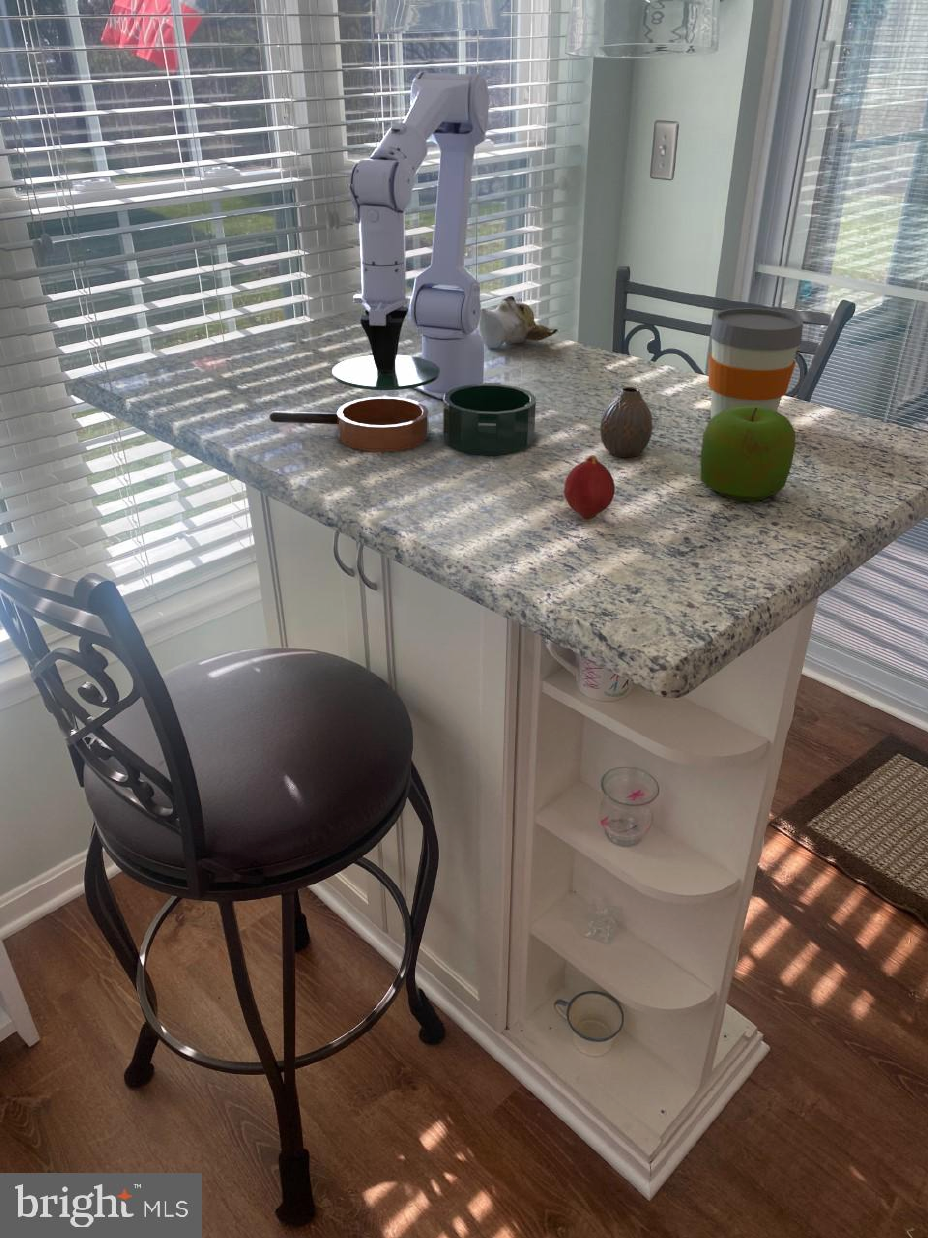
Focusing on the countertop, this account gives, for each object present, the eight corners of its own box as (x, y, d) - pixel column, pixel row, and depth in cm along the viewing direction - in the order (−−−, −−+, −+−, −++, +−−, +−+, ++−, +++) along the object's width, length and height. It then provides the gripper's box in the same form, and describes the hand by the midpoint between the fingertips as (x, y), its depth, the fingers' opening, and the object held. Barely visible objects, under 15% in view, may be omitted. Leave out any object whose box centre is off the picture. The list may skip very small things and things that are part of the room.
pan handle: (344, 422, 139) (344, 412, 138) (343, 425, 138) (342, 415, 137) (271, 419, 139) (270, 409, 139) (268, 423, 138) (267, 413, 137)
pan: (432, 421, 144) (432, 398, 142) (423, 453, 133) (423, 428, 131) (346, 418, 145) (345, 395, 143) (331, 450, 134) (329, 425, 132)
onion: (558, 508, 118) (562, 445, 114) (605, 507, 119) (611, 444, 115) (567, 529, 113) (571, 464, 109) (616, 528, 114) (622, 463, 110)
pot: (533, 418, 146) (535, 379, 142) (533, 464, 130) (535, 421, 127) (448, 415, 146) (449, 376, 143) (438, 461, 131) (438, 418, 128)
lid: (443, 363, 140) (444, 330, 138) (435, 396, 128) (435, 360, 125) (342, 360, 141) (340, 327, 139) (323, 392, 129) (321, 357, 126)
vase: (617, 465, 130) (624, 400, 126) (588, 447, 136) (593, 385, 131) (659, 456, 133) (667, 393, 129) (629, 439, 138) (636, 378, 134)
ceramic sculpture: (462, 293, 175) (523, 286, 184) (459, 342, 179) (519, 333, 188) (502, 305, 168) (564, 298, 177) (498, 356, 172) (558, 346, 181)
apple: (712, 467, 130) (724, 387, 124) (794, 485, 125) (811, 402, 120) (683, 497, 122) (695, 412, 116) (770, 516, 117) (787, 429, 111)
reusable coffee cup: (804, 427, 144) (824, 323, 136) (741, 442, 138) (759, 334, 130) (742, 402, 153) (758, 303, 145) (680, 415, 147) (694, 313, 139)
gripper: (360, 249, 133) (364, 350, 140) (343, 272, 121) (348, 381, 128) (412, 251, 133) (413, 351, 140) (400, 274, 120) (402, 383, 127)
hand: (386, 365), depth 134 cm, fingers closed on lid, 2 cm apart
